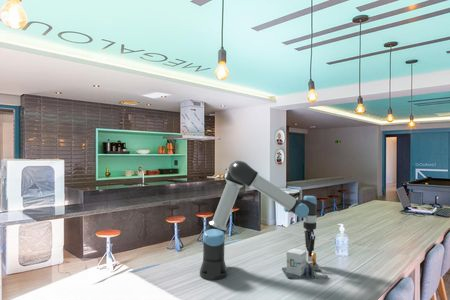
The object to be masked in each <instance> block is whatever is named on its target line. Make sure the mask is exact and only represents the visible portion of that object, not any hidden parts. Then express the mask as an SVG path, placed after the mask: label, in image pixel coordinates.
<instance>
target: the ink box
mask: <svg viewBox="0 0 450 300" xmlns="http://www.w3.org/2000/svg"><path fill="white" fill-rule="evenodd" d="M306 261H307V250H303V249H298V248H294V247H293V248H291V249H289V250H287V251H286V267H287V273H291V274H295V275H299V276H301V275H302V274H304V273H305V272H306Z"/></svg>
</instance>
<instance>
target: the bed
mask: <svg viewBox="0 0 450 300" xmlns="http://www.w3.org/2000/svg"><path fill="white" fill-rule="evenodd" d="M309 263H310V262H308V261H307V260H306V272H305V273H304V274H302V275H301V276H299V275H295V274H291V273H287V266H286V267H281V270H282V272H283V273H284V275H285V277H286V278H287V279H288V280H294V279H295V280H297V279H301V280H304V279H306V280H307V279H315V278H314V274H315V271H314V269H313V268H312V267H311V265H310V264H309Z"/></svg>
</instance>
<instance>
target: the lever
mask: <svg viewBox="0 0 450 300" xmlns="http://www.w3.org/2000/svg"><path fill="white" fill-rule="evenodd" d="M308 263H309V264H310V265H311V267H312V268H313V269H314V272H315V271H319V270H318V267H319V264H318V263H317V253H316V252H312V261H311V262H308Z"/></svg>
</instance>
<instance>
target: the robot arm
mask: <svg viewBox="0 0 450 300" xmlns="http://www.w3.org/2000/svg"><path fill="white" fill-rule="evenodd" d="M227 170H228V172H227V174H226V176H225V182H226V184H225V186H224V189H223V192H222V194H221V197H220V199H219V202H218V205H217V208H216V210H215V212H214V215H213V218H212V220H209V221H208V224H207V227H206V229H205V230H204V232H203V236H202V240H203V241H202V242H203V243H202V244H203V247H202V248H203V249H202V263H201V265H200V268H199V277H201V278H202V279H204V280H211V281H218V280H222V279H225V278H227V276H228V269H227V265H226V261H225V241H226V237H225V236H226V233H227V231H228V228H227V224H228V221H229V218H230V215H231V212H232V210H233V207H234V205H235V202H236V200H237V197H238V194H239V192H240V189H241V188H243V187H244V186H246V187H248V188H251V187H252V188H253V189H254V190H257V191H258V192H260V193H261V194H262V195H263V196H266V197H267V198H269V199H271V201H274V202H275V203H276V204H278V205H280V206H281V207H283V210H284V212H285V213H292V214H294V215H295V216H297V217H298V218H303V223H302V225H303V229H305V230H304V240H305V243H304V244H305V248H306V261H307V262H308V263H312V253H313V252H314V250H315V240H316V236H315V232H314V230H316V229H317V208H318V206H317V204H318V203H317V202H318V201H317V197H316V196H314V195H304V196H303V198H302V199H301V198H300V199H299V198H297V199H296V198H295V197H294V196H292V195H291V194H289V193H287V192H285V190H283V189H281V188H280V187H278V186H276V185H275V184H274V183H272V182H270V181H269V180H267V179H265V178H264V177H262V176H261V175H259V172H258V171H257V170H255V169H254V168H252V167H251V166H250V165H249V164H248V163H247V162H245V161H242V160H235V161H233V162H231V163H230V165H229V167H228V169H227Z"/></svg>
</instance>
